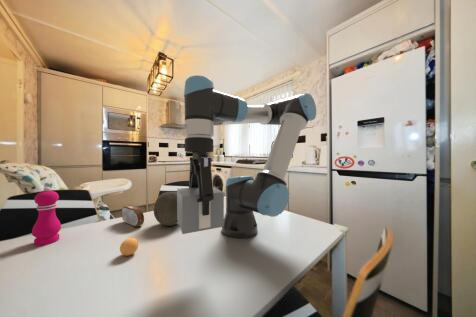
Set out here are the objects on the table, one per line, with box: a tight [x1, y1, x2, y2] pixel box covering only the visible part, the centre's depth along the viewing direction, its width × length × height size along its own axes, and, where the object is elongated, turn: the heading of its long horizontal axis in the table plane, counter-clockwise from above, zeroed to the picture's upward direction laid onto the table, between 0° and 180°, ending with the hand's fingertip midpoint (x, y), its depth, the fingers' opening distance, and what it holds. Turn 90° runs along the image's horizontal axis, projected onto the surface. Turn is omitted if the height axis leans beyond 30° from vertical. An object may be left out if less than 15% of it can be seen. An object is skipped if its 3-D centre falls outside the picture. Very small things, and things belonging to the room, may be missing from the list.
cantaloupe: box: [153, 191, 179, 227], centre depth 81 cm, size 14×14×15 cm
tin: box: [121, 204, 145, 228], centre depth 80 cm, size 15×3×8 cm, turn 58°
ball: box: [119, 237, 139, 257], centre depth 56 cm, size 5×5×5 cm
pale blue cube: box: [176, 186, 225, 235], centre depth 47 cm, size 10×10×9 cm
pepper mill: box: [31, 186, 62, 247], centre depth 64 cm, size 7×7×20 cm
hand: (199, 219), depth 47 cm, fingers closed on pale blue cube, 10 cm apart
